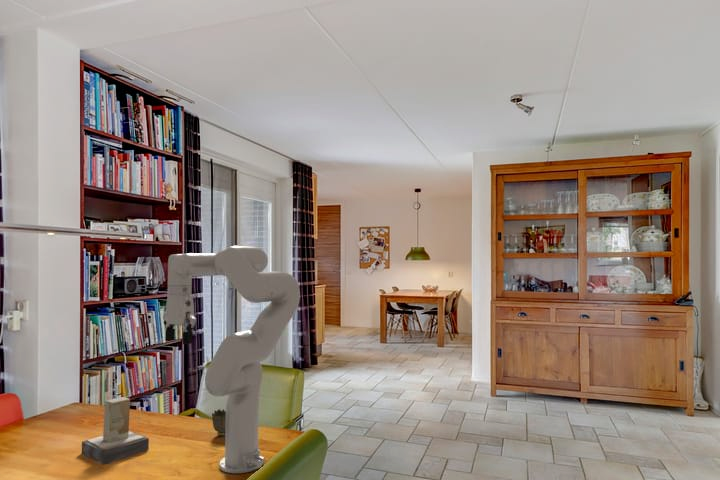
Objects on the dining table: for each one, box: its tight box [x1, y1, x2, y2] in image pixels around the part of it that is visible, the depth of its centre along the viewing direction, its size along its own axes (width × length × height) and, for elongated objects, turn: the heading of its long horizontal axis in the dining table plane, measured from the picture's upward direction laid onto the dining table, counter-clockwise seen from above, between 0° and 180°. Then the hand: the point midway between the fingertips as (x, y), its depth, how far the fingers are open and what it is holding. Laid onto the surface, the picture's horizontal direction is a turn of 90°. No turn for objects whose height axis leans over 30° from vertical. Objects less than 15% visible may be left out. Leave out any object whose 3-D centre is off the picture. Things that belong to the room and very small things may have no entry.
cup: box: [211, 409, 226, 437], centre depth 164 cm, size 8×7×8 cm
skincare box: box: [102, 396, 131, 442], centre depth 150 cm, size 6×4×12 cm
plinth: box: [81, 429, 150, 466], centre depth 150 cm, size 14×14×4 cm
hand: (178, 342), depth 158 cm, fingers open, 9 cm apart
